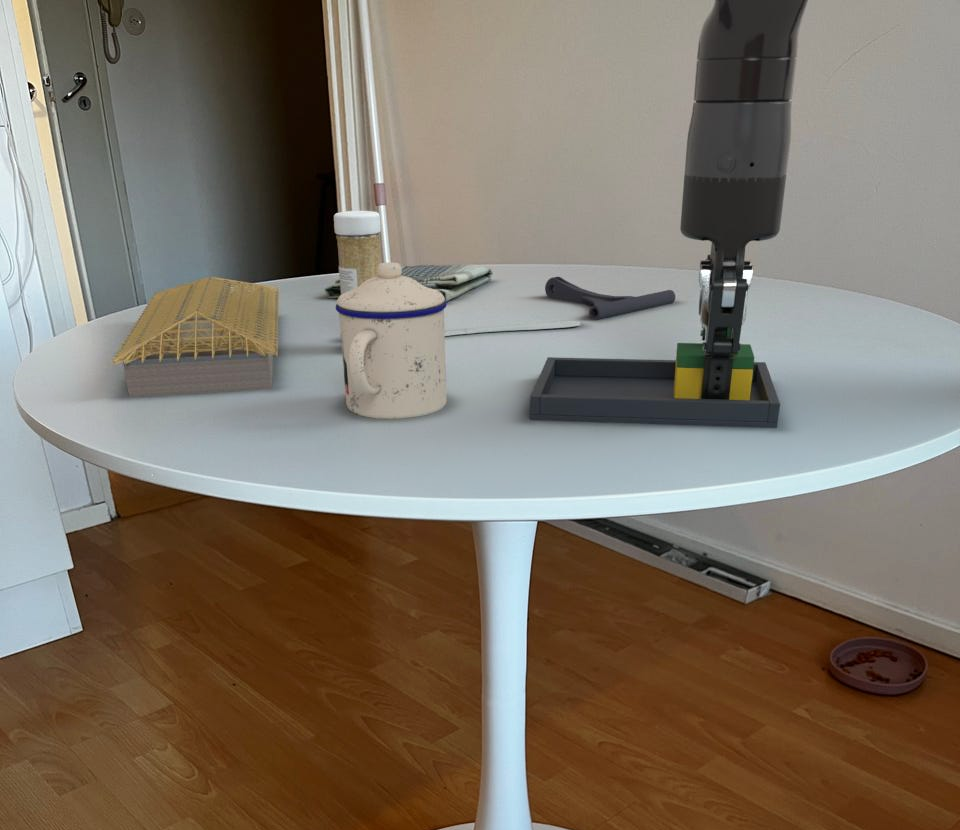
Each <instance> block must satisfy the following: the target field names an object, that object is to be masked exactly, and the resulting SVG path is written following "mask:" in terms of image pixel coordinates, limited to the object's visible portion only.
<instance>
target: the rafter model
mask: <svg viewBox="0 0 960 830" xmlns="http://www.w3.org/2000/svg"><path fill="white" fill-rule="evenodd" d="M279 301H280V287H278V286H272V285H266V284H260V283H253V282H247V281H240V280H236V279H235V280H234V279H228V278H222V277H215V276H206V277H205V278H200V279H197V280H194V281H190V282H187V283H184V284H180V285H177V286H173V287H170V288H166V289H164V290H160V291H157V292H154V293H153V295H152V296H151V297H150V299H149V301H148V303H147V305H146V306H145V308H143V310H142V313H140V315H139V317H138V318H137V320H136V321H135V322H136V323H135V322H134V325H133V326H132V328H131V330H130V331H129V332H128V333H129V334H127V337H125V340H123V343H121V346H119V349H118V350H117V352H116V353H115V354H114V358H112V359H111V360H112V361H110V365H116V364H121V363H122V365H123V371H124V376H125V377H124V378H125V382H126V388H127V392H128V397H129V398H136V397H137V398H139V397H156V396H170V395H172V396H173V395H174V396H175V395H188V394H189V395H190V394H206V393H222V392H239V391H240V392H241V391H256V390H272V389H273V372H274V371H273V370H274V356H277V357H278V356H279V354H278V353H279V350H278V349H279V307H280V306H279V304H280V303H279Z"/></svg>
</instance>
